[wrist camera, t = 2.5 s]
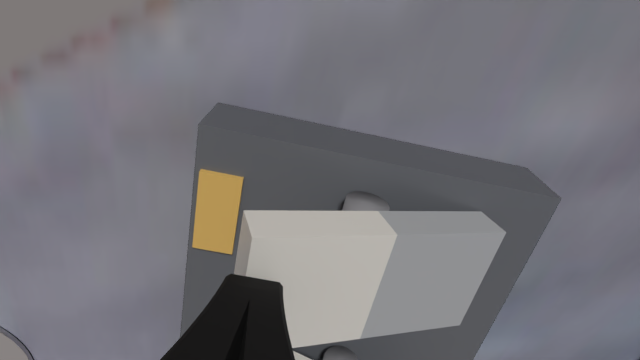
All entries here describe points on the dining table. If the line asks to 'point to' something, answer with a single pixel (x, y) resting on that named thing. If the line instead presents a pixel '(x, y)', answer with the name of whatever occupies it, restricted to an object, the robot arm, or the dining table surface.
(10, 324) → the dining table surface
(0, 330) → the wineglass
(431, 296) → the rocker
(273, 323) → the robot arm
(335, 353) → the rocker
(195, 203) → the switch unit
